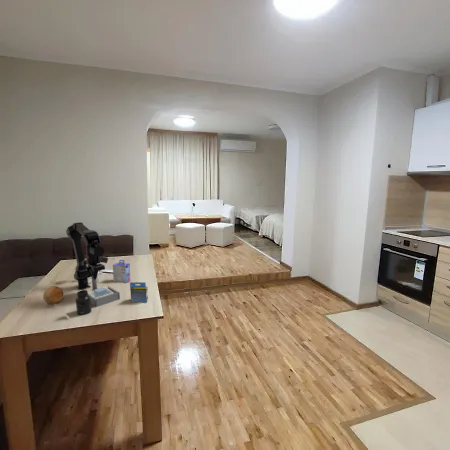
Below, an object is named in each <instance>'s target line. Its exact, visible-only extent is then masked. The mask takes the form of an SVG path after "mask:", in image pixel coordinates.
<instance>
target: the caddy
mask: <svg viewBox="0 0 450 450" xmlns="http://www.w3.org/2000/svg"><path fill="white" fill-rule="evenodd" d="M91 283H92V285H91V286H92V289H91V291H88V294H90V295H91V296H92V297H94V290H95V289H98V284H97V283H98V281H97V278H96V279H95V280H94V278H93V276H92V277H91ZM103 288H104V289H106V293H107V294H106V295H103V296H100V297H97V298H95V299H98V298H101V297H104V296H108V295H111V294H114V292H112V291H111V290H109V289H108V287H106V286H105V287H103Z"/></svg>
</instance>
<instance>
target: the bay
mask: <svg viewBox="0 0 450 450" xmlns="http://www.w3.org/2000/svg"><path fill="white" fill-rule="evenodd" d="M107 288H108V289H109V290H111V291H112V292H114V294H111V295H108V296H104V297H101V298H98V299H95V298H94V297H92V296H91V295H90V294H88V295H89V296H90V298H91V306H93V307H94V308H98V307H100V306H103V305H107V304H110V303H113V302H116V301H120V300H121V296H120V291H118V290H116V289H114V288H113V287H111V286H109V285H108V286H107Z"/></svg>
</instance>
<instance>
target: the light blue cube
mask: <svg viewBox="0 0 450 450" xmlns="http://www.w3.org/2000/svg"><path fill="white" fill-rule="evenodd" d="M106 294H107V293H106V289H104V287H103V286H102V287H99V288H98V287H97V289H95V290H94V298H97V297H100V296H103V295H106Z"/></svg>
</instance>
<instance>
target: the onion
mask: <svg viewBox="0 0 450 450" xmlns="http://www.w3.org/2000/svg"><path fill="white" fill-rule="evenodd" d="M64 295H65V294H64V291H63V288H61V287H59V286H57V285H52V286H49V287H48V288H46V290H45V291H44V292H43V296H42V299H43V300H44V302H45V303H46V304H47V305H57V304H59V303H60V302H62V300H63V298H64Z"/></svg>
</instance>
